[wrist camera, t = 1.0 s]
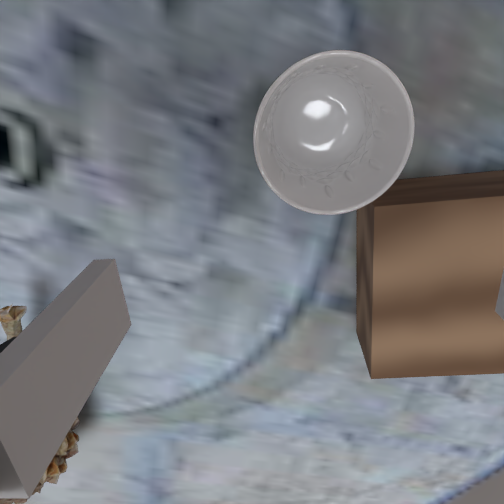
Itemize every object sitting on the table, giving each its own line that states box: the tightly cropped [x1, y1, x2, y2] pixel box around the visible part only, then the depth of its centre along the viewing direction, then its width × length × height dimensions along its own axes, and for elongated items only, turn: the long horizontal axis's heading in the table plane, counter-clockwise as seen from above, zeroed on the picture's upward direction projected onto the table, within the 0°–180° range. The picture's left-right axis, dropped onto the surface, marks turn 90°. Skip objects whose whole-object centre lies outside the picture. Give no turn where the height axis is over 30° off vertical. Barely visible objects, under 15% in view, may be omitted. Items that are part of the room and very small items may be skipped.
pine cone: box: [0, 305, 80, 504], centre depth 35 cm, size 22×10×10 cm, turn 176°
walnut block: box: [357, 170, 504, 379], centre depth 29 cm, size 14×14×6 cm
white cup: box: [253, 50, 415, 215], centre depth 24 cm, size 8×8×10 cm
